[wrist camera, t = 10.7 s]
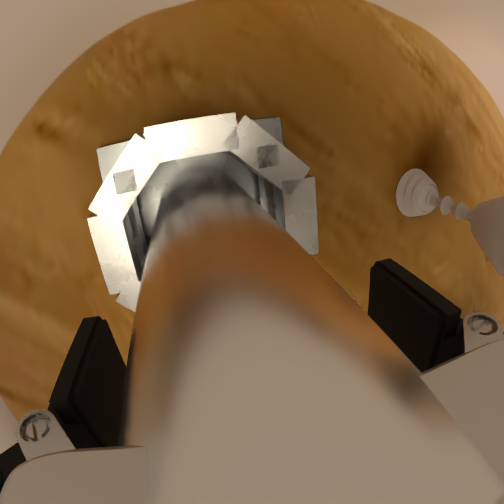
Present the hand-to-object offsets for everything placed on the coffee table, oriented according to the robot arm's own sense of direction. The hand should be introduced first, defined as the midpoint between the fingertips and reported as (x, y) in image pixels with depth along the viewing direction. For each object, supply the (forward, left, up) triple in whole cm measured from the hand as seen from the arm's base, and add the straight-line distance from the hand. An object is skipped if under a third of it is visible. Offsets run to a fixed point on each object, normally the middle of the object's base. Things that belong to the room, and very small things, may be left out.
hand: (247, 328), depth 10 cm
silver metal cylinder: (0, 0, -16) cm, 16 cm away
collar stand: (0, 0, -16) cm, 16 cm away
